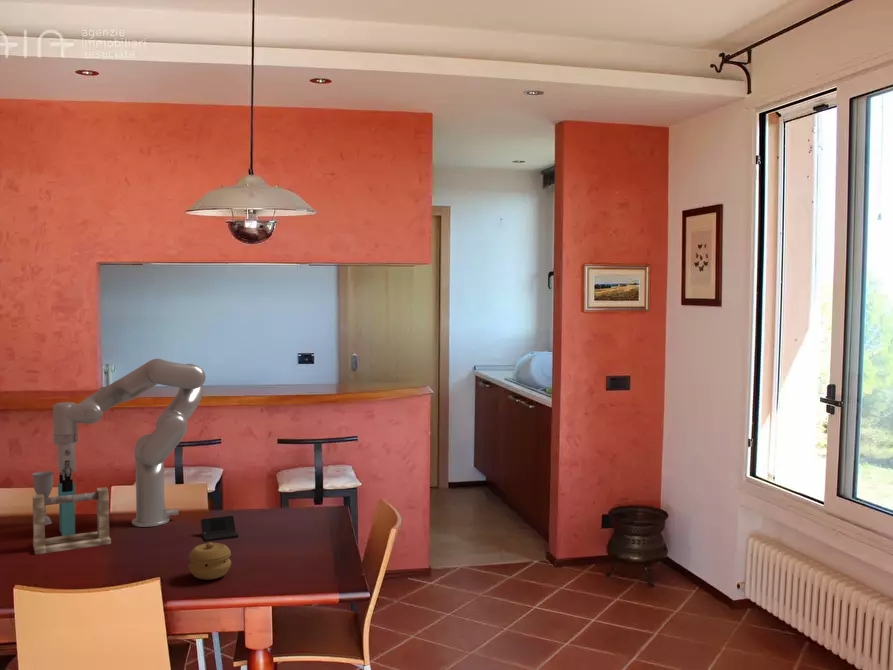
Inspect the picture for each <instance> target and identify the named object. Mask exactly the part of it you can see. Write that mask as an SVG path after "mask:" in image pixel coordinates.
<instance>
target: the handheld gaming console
mask: <svg viewBox="0 0 893 670" xmlns="http://www.w3.org/2000/svg"><path fill="white" fill-rule="evenodd" d="M235 524H236V523H235V519H234V516H233V515H227V516H217V517H211V518H202V519H200V525H201V533H202V538H203V540H204V541H205V542H206V543H209V542H214V541H222V540H229V539H238V538H239V534H238V533H237V531H236V526H235Z"/></svg>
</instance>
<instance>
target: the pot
mask: <svg viewBox="0 0 893 670" xmlns="http://www.w3.org/2000/svg"><path fill="white" fill-rule="evenodd" d="M230 556H232V552H231V549H230V548H229V547H228V546H227V545H226V544H224V543H219V542H213V541H208V542H206V543H202V544H198V545H197V546H195V547H193V549H191V551H190V552H189V554H188V559H189V560H190V563H189V564H188V569H189V571H190V572H191V575H192V576H193V577H195V578H196V579H200V580H205V581H206V580H207V581H208V580H216V579H219V578H222V577H223V576H224V575H226V574H227V573H228V571H229V570H230V568H231V566H232V560H231V558H230Z"/></svg>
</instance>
